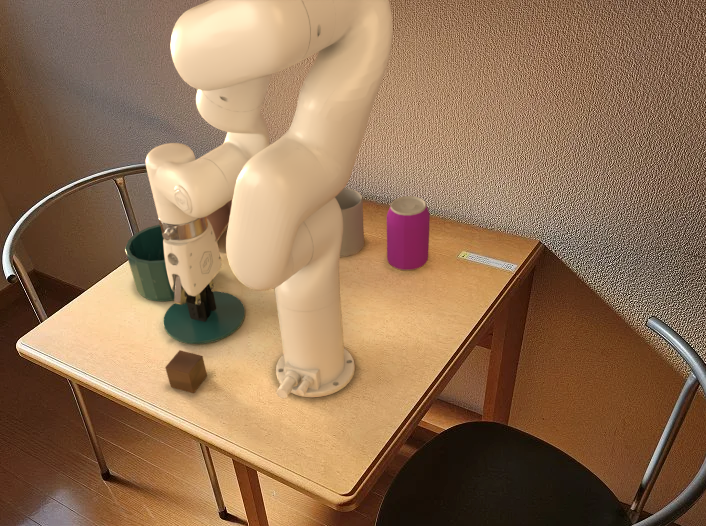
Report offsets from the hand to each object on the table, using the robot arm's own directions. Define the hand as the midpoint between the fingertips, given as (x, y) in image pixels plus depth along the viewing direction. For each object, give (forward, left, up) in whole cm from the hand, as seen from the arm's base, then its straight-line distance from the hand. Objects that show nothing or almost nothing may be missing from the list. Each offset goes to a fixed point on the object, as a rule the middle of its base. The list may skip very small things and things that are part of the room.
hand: (203, 313), depth 130 cm
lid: (0, 0, -1) cm, 1 cm away
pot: (+9, +13, -2) cm, 16 cm away
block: (-15, -6, -2) cm, 16 cm away
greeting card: (+27, +9, -2) cm, 28 cm away
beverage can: (+28, -28, -2) cm, 40 cm away
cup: (+30, -14, -2) cm, 33 cm away
